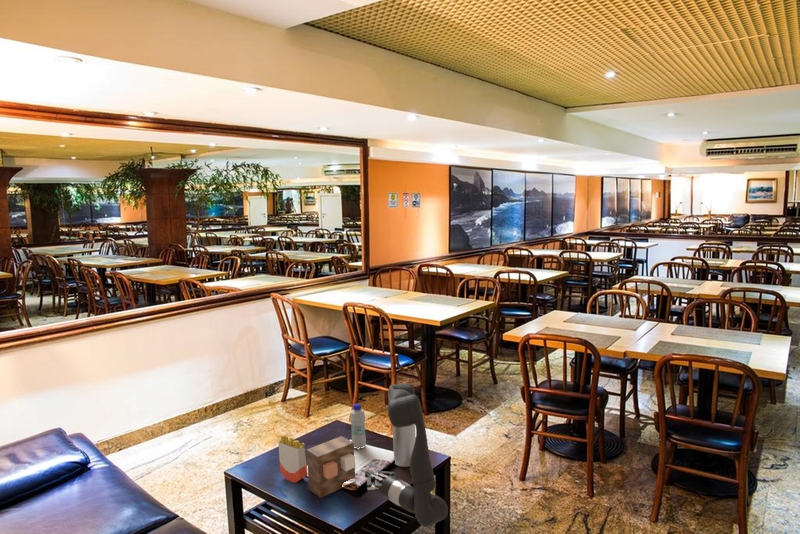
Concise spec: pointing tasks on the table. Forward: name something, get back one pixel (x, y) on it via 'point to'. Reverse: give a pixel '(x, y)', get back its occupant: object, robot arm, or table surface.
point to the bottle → (358, 426)
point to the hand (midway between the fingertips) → (366, 472)
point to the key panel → (326, 454)
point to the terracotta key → (329, 469)
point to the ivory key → (347, 462)
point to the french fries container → (292, 459)
